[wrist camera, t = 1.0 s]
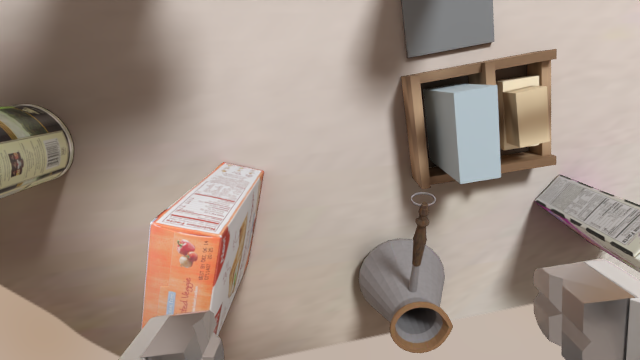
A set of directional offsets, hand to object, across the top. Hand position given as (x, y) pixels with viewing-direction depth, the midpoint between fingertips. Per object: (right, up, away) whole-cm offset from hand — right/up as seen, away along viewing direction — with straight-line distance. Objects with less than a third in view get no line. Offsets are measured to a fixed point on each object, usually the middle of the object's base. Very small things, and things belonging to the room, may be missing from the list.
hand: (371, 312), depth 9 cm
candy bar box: (+33, 0, +39) cm, 51 cm away
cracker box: (-13, -1, +40) cm, 42 cm away
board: (+14, +11, +36) cm, 40 cm away
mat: (+13, +23, +32) cm, 42 cm away
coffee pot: (+9, -4, +40) cm, 41 cm away
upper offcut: (+22, +11, +32) cm, 40 cm away
